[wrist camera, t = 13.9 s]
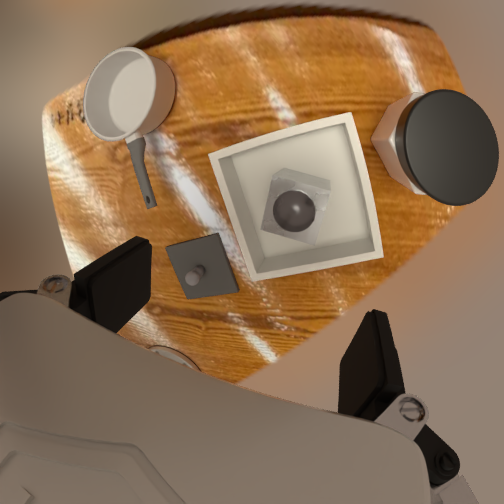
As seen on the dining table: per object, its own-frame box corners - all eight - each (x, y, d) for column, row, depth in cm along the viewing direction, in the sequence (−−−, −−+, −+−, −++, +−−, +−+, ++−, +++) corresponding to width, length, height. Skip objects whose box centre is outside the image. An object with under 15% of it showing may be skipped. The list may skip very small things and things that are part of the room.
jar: (419, 197, 26) (464, 233, 16) (358, 156, 26) (379, 167, 16) (455, 132, 22) (515, 136, 11) (395, 88, 22) (434, 61, 12)
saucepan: (142, 209, 36) (116, 221, 31) (104, 82, 30) (76, 80, 25) (215, 183, 32) (194, 192, 27) (168, 40, 26) (143, 29, 21)
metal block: (330, 180, 28) (330, 192, 22) (317, 224, 30) (314, 247, 24) (283, 167, 28) (271, 175, 23) (273, 211, 31) (259, 230, 25)
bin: (376, 241, 29) (383, 257, 25) (261, 263, 34) (251, 281, 30) (347, 116, 25) (350, 112, 21) (224, 151, 30) (208, 154, 26)
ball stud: (239, 289, 36) (229, 306, 33) (189, 297, 39) (176, 312, 36) (218, 232, 34) (205, 244, 31) (167, 246, 37) (151, 257, 33)
